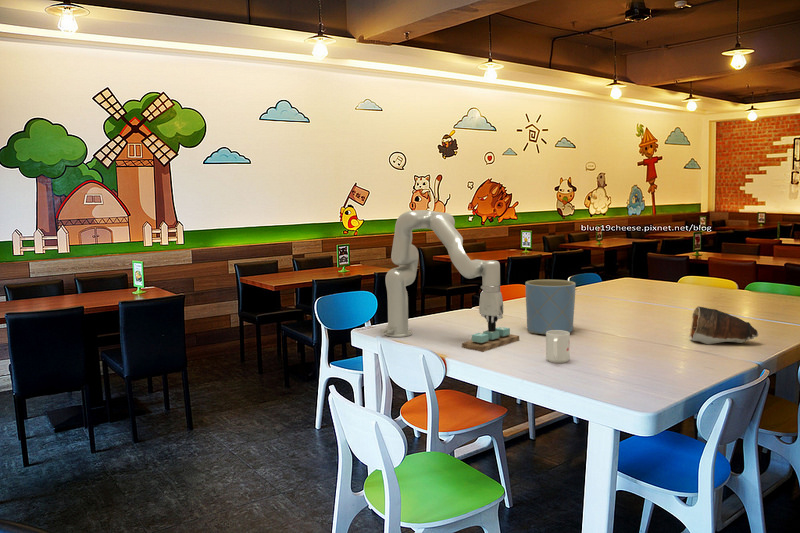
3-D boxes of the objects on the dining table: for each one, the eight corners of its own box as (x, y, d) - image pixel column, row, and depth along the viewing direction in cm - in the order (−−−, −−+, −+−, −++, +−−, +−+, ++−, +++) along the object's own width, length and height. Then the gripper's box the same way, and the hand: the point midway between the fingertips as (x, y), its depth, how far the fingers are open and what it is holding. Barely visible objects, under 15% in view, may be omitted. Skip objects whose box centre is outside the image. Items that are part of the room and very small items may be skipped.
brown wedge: (767, 320, 245) (700, 306, 252) (758, 356, 246) (692, 341, 253) (756, 317, 259) (694, 304, 266) (748, 352, 260) (686, 338, 267)
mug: (547, 356, 240) (547, 329, 238) (570, 358, 236) (571, 330, 235) (542, 364, 229) (543, 335, 227) (566, 366, 225) (567, 337, 224)
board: (482, 351, 249) (482, 347, 249) (461, 347, 257) (461, 343, 256) (519, 340, 268) (519, 335, 268) (498, 336, 276) (498, 332, 276)
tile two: (492, 339, 259) (492, 332, 258) (483, 337, 262) (483, 331, 262) (499, 337, 262) (499, 330, 262) (489, 335, 266) (489, 329, 265)
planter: (534, 325, 299) (534, 278, 297) (580, 329, 288) (581, 280, 285) (518, 334, 280) (518, 284, 277) (567, 339, 268) (567, 287, 266)
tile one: (481, 343, 253) (481, 336, 253) (471, 341, 256) (471, 334, 256) (488, 340, 256) (488, 334, 256) (478, 339, 260) (478, 332, 260)
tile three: (503, 336, 264) (503, 329, 264) (493, 334, 268) (493, 328, 267) (509, 334, 268) (509, 327, 267) (500, 332, 271) (500, 326, 271)
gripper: (472, 288, 262) (472, 330, 264) (500, 291, 252) (501, 334, 254) (482, 286, 268) (483, 327, 269) (510, 289, 257) (511, 331, 259)
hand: (491, 330), depth 262 cm, fingers closed
